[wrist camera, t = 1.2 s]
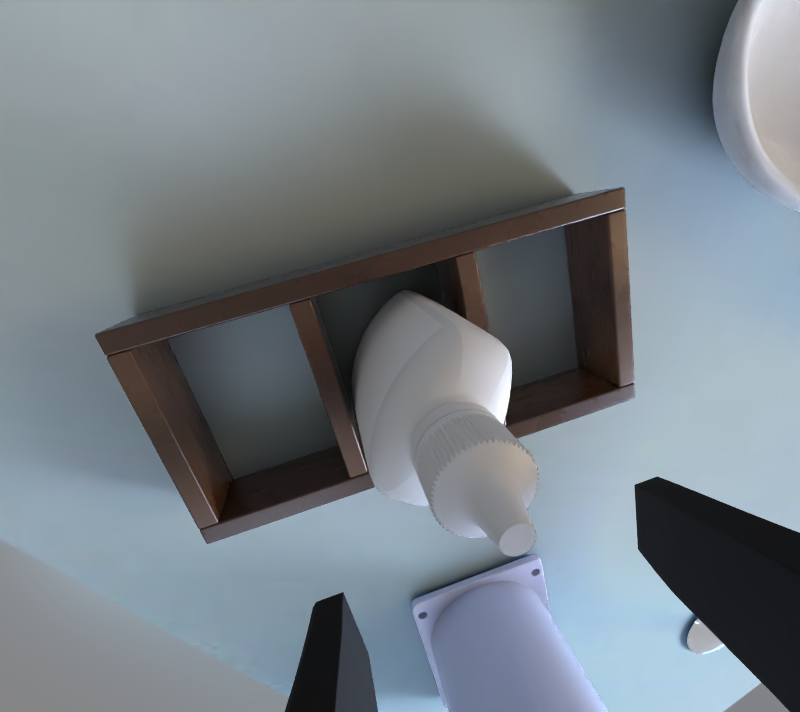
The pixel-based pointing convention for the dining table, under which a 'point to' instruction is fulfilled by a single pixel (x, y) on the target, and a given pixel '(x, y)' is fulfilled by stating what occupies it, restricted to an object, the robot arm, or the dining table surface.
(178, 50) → the dining table surface
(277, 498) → the spice rack
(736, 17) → the spoon rest
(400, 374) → the eye dropper bottle
